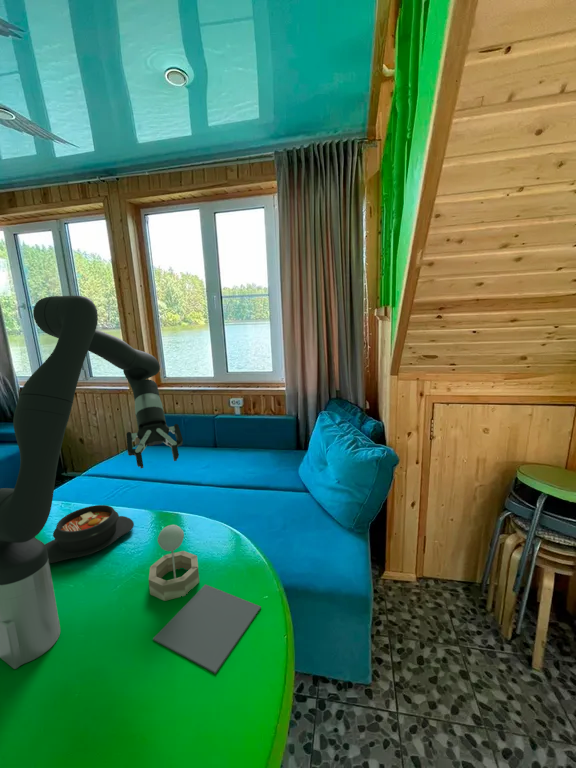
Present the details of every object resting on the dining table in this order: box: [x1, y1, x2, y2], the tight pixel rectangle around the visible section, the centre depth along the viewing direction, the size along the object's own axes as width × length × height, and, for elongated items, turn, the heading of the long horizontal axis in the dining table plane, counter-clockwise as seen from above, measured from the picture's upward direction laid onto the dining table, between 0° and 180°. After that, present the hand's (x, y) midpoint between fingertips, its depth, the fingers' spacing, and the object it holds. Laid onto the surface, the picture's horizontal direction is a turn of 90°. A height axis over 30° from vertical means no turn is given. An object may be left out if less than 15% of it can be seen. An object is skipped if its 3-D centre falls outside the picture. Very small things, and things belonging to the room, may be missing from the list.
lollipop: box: [157, 524, 185, 579], centre depth 82 cm, size 6×6×15 cm
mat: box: [152, 583, 262, 675], centre depth 71 cm, size 16×16×1 cm
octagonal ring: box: [148, 550, 200, 602], centre depth 83 cm, size 12×11×4 cm
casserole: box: [44, 504, 135, 564], centre depth 100 cm, size 25×19×8 cm
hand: (159, 463), depth 89 cm, fingers open, 8 cm apart
